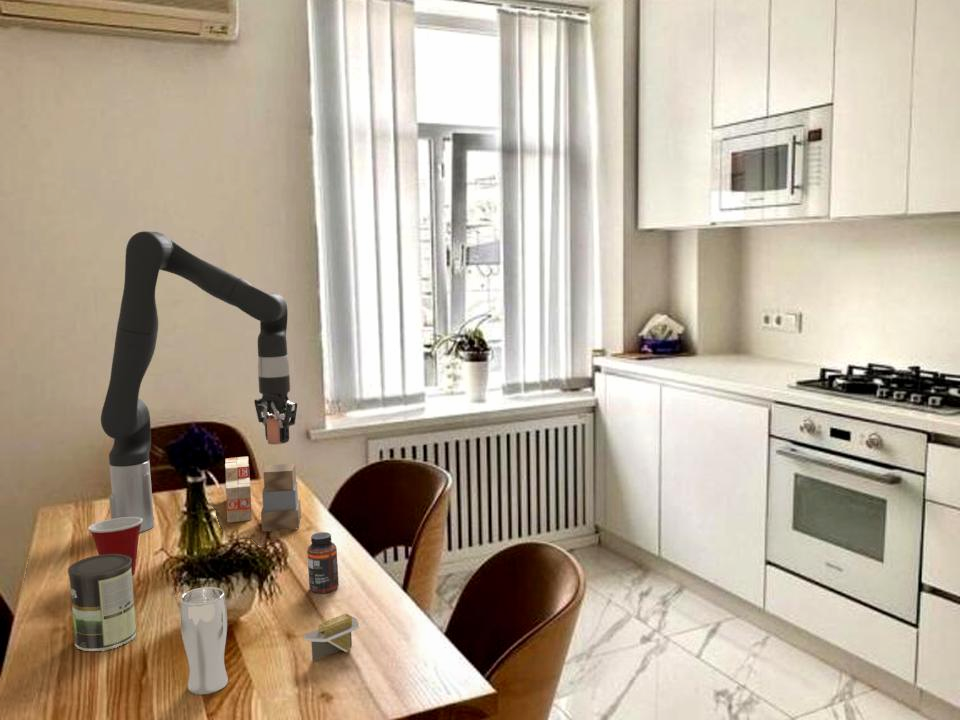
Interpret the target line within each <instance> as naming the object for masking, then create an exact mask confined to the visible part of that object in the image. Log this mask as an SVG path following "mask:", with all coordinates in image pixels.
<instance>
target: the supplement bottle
mask: <svg viewBox="0 0 960 720" xmlns="http://www.w3.org/2000/svg"><path fill="white" fill-rule="evenodd" d="M310 539H311V540H310V542H311V544H310V545H309V546H308V547H307V549H306V550H307V551H306V553H307V569H308V570H307V571H308V585H309V590H310V591H311V592H313V593H315V594H316V593H317V594H325V593H326V594H327V593H330V592H333V591H335V590H336V589H337V588H338V587H339V567H338V553H337V549H338V548H337V545H336V544H335V543H334V542H333V541H332V534H331V533H330V532H326V531H325V532H324V531H323V532H321V531H320V532H316V533H313V534H312V535H311V537H310Z"/></svg>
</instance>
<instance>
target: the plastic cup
mask: <svg viewBox="0 0 960 720" xmlns="http://www.w3.org/2000/svg"><path fill="white" fill-rule="evenodd" d="M142 522H143V519H142V518H139V517H123V518H115V519H111V518H110V519H107V520H102V521H101V520H100V521H99V522H94V523H93V524H91V525H89V526H88V531H89V532H90V533H91V536H92V538H93V542H95V547H96V550H97V555H103V554H123V555H127V556H129V557H130V558H131V559H132V564H131V570H132V577H133V576H134V575H135V571H136V566H137V565H136V562H137V558H138V550H139V549H138V547H139V546H138V545H139V537H140V533H141V532H140V526H141V523H142Z"/></svg>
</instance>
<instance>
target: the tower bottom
mask: <svg viewBox="0 0 960 720" xmlns="http://www.w3.org/2000/svg"><path fill="white" fill-rule="evenodd" d="M301 505H302V504H301V499H298V503H297V508H296V510H284V511H270V512H263V507H262V508H261V511H260V520H261V532H270V531H269V530H275V531H287V530H288V531H289V530H297V529H296V528H299V529H300V526H299V525H300V524H301V521H300V519H302V508H301V507H302V506H301Z"/></svg>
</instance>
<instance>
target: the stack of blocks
mask: <svg viewBox="0 0 960 720" xmlns="http://www.w3.org/2000/svg"><path fill="white" fill-rule="evenodd" d="M224 461H225V464H224V467H225V495H226V497H225V498H226V499H225V500H226V501H225V502H226V503H225V504H226V505H225V506H226V517H227V518H226V520H227V523H233V522H234V523H236V522H245V521H252V515H253V514H252V492H251V491H252V490H251V478H250V477H251V476H250V464H249V463H250V461H249V456H239V457H238V456H237V457H229V458H225V460H224Z"/></svg>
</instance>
